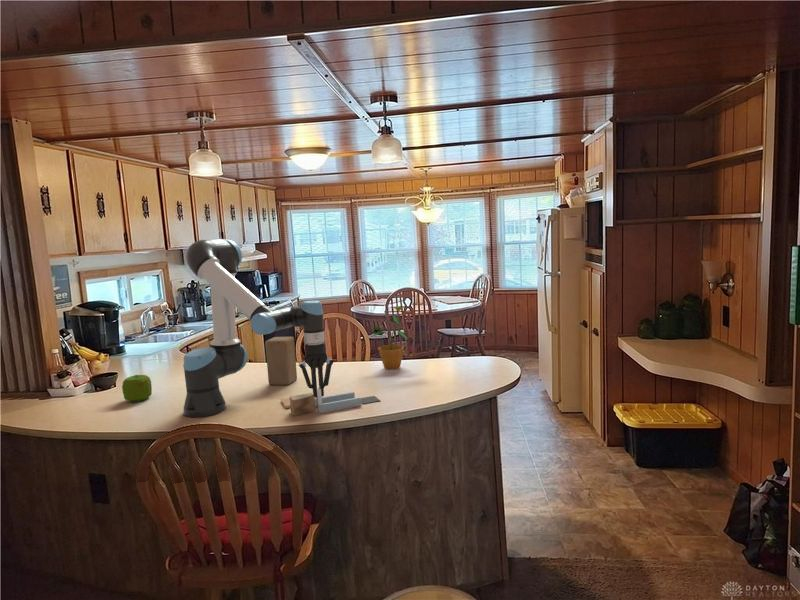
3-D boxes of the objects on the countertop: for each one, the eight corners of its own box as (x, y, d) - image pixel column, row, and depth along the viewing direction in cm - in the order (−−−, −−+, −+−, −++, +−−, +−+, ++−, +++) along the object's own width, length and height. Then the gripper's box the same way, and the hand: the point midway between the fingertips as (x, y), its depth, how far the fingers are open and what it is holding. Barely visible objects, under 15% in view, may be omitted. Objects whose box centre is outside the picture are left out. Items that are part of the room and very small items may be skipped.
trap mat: (363, 404, 199) (363, 403, 199) (357, 399, 206) (357, 398, 206) (380, 401, 202) (380, 400, 202) (374, 396, 208) (374, 395, 208)
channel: (319, 413, 192) (319, 405, 192) (313, 406, 200) (313, 398, 200) (361, 405, 198) (360, 397, 198) (354, 399, 206) (353, 391, 206)
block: (293, 416, 190) (292, 400, 189) (291, 412, 195) (289, 396, 194) (315, 412, 193) (314, 396, 193) (312, 408, 198) (311, 392, 197)
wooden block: (289, 385, 231) (285, 340, 228) (267, 385, 233) (264, 340, 231) (298, 379, 241) (294, 336, 238) (277, 379, 243) (274, 336, 240)
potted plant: (417, 364, 256) (414, 303, 252) (398, 374, 240) (394, 308, 236) (386, 361, 265) (383, 302, 261) (365, 370, 249) (361, 307, 245)
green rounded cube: (126, 398, 225) (123, 373, 224) (153, 394, 229) (150, 369, 228) (122, 405, 215) (119, 379, 214) (151, 401, 219) (148, 375, 217)
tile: (285, 408, 199) (285, 406, 199) (281, 401, 208) (280, 399, 208) (311, 404, 203) (311, 401, 203) (306, 397, 212) (306, 394, 212)
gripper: (299, 347, 188) (304, 411, 191) (334, 342, 193) (339, 405, 196) (294, 343, 195) (299, 405, 197) (329, 339, 200) (333, 399, 202)
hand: (319, 405), depth 196 cm, fingers closed
